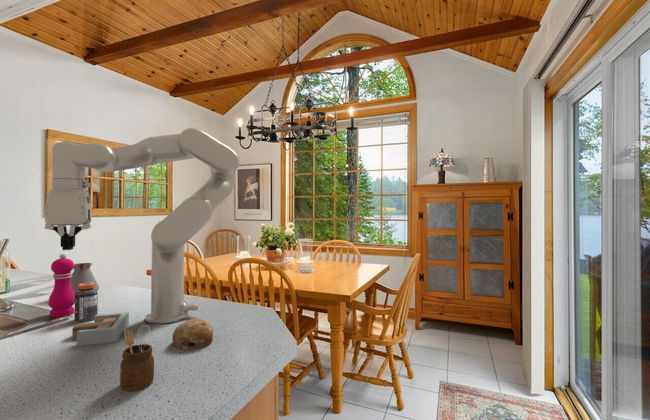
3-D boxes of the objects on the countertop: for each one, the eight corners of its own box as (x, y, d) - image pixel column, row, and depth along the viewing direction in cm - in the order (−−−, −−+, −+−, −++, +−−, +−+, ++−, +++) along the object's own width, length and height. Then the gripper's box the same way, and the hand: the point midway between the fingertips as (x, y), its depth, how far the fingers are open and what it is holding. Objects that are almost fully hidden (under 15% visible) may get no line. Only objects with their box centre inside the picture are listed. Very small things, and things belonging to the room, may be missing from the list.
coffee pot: (64, 295, 133) (64, 258, 133) (98, 291, 140) (99, 256, 140) (60, 308, 116) (60, 265, 116) (100, 303, 122) (100, 262, 122)
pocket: (128, 323, 101) (128, 312, 101) (115, 341, 87) (115, 328, 87) (95, 326, 98) (96, 314, 98) (77, 346, 84) (77, 332, 84)
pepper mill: (60, 318, 105) (61, 255, 105) (41, 317, 106) (42, 254, 106) (81, 311, 112) (82, 252, 112) (63, 310, 113) (64, 252, 113)
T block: (80, 331, 94) (80, 320, 94) (116, 327, 97) (116, 317, 97) (68, 343, 86) (68, 331, 86) (108, 339, 89) (108, 327, 89)
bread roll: (170, 363, 83) (168, 339, 80) (176, 332, 92) (174, 310, 89) (211, 358, 86) (211, 335, 82) (214, 329, 95) (213, 307, 91)
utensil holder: (159, 376, 69) (160, 319, 69) (142, 393, 63) (142, 330, 63) (132, 376, 69) (132, 318, 69) (111, 392, 63) (112, 329, 63)
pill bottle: (76, 317, 106) (76, 282, 106) (98, 315, 108) (99, 280, 108) (72, 323, 100) (72, 286, 100) (96, 320, 103) (96, 284, 103)
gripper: (102, 187, 101) (102, 247, 101) (43, 186, 96) (42, 248, 96) (94, 186, 94) (94, 250, 94) (30, 184, 89) (29, 252, 89)
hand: (67, 249), depth 95 cm, fingers closed
